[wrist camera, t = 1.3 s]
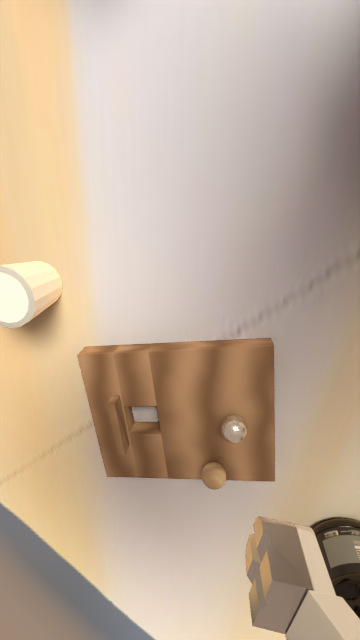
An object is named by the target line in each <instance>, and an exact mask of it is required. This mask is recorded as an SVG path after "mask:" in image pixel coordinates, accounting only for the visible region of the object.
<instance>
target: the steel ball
mask: <svg viewBox="0 0 360 640" xmlns="http://www.w3.org/2000/svg"><path fill="white" fill-rule="evenodd" d="M247 431H248V428H247V424H246V422H245V421H244V419H242V418H241V417H240V416H237V415H230V416H227V417H226V418H225V419H224V420H223V422H222V424H221V432H222V435H223V436H224V438H225V439H226V440H228V441H229V442H232V443H238V442H241V441H242V440H244V438H245V437H246V435H247Z"/></svg>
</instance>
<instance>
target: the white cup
mask: <svg viewBox="0 0 360 640" xmlns="http://www.w3.org/2000/svg"><path fill="white" fill-rule="evenodd" d="M62 286H63V285H62V282H61V278H60V276H59V274H58V273H57V271H56V270H55V269H54V268H53V267H52V266H50V265H49V264H48V263H44V262H41V261H35V262H25V263H16V264H7V265H0V326H4V327H7V328H16V327H21V326H22V325H24V324H26V323H27V322H29V321H30V320H32V319H33V318H34V317H36V316H37V315H38V314H40V313H41V312H42V311H44V310H45V309H46V308H48V307H49V306H50V305H52V304H53V303H54V302H56V301H57V300H58V298H59V297H60V295H61V294H62Z"/></svg>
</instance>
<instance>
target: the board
mask: <svg viewBox="0 0 360 640" xmlns="http://www.w3.org/2000/svg"><path fill="white" fill-rule="evenodd" d="M77 356H78V360H79V364H80V368H81V372H82V376H83V380H84V384H85V388H86V392H87V397H88V401H89V405H90V409H91V413H92V417H93V421H94V425H95V429H96V433H97V437H98V441H99V446H100V450H101V454H102V458H103V462H104V466H105V470H106V474H107V477H138V478H173V479H202V470H203V468H204V466H205V465H206V464H208V463H210V462H217V463H219V464H221V465H222V466H223V468H224V469H225V472H226V480H242V481H275V421H274V345H273V343H272V340H271V338H262V339H241V340H219V341H198V342H176V343H155V344H133V345H112V346H91V347H85V348H84V349H83V350H82V351H81V352H80V353H79V354H78V355H77ZM131 406H157V411H158V418H159V422H134V418H133V413H132V408H131ZM230 415H237V416H240V417H241V418H242V419H244V421H245V422H246V424H247V428H248V431H247V435H246V437H245V438H244V440H242V441H241V442H238V443H232V442H229V441H228V440H226V439H225V438H224V436H223V435H222V432H221V424H222V422H223V420H224V419H225V418H226V417H227V416H230Z"/></svg>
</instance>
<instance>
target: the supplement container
mask: <svg viewBox="0 0 360 640" xmlns="http://www.w3.org/2000/svg"><path fill="white" fill-rule="evenodd" d="M312 530H313V531H314V533H315V536H316V539H317V542H318V545H319V548H320V550H321V553H322V556H323V559H324V562H325V565H326V568H327V571H328V574H329V576H330V579H331V582H332V585H333V588H334V591H335V594H336V596H339V597H342V598H343V599H344V600H345V602H346V603H347V604H348V605H349V606H350V608H351V609H352V610H353V611H354V613H355V614H356V615H357V616H358V618H359V619H360V522H358V521H355V520H351V519H343V518H338V519H330V520H327V521H324V522H322V523H320V524H318V525H316V526H315V527H314V528H313V529H312Z"/></svg>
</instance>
